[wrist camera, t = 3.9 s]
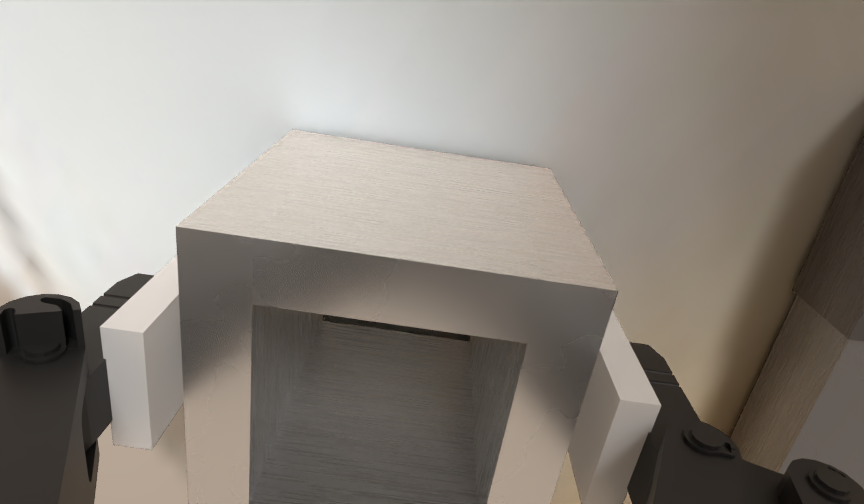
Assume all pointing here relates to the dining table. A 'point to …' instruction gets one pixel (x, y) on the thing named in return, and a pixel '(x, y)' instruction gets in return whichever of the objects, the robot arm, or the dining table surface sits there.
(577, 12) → the dining table surface
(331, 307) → the socket
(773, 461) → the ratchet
